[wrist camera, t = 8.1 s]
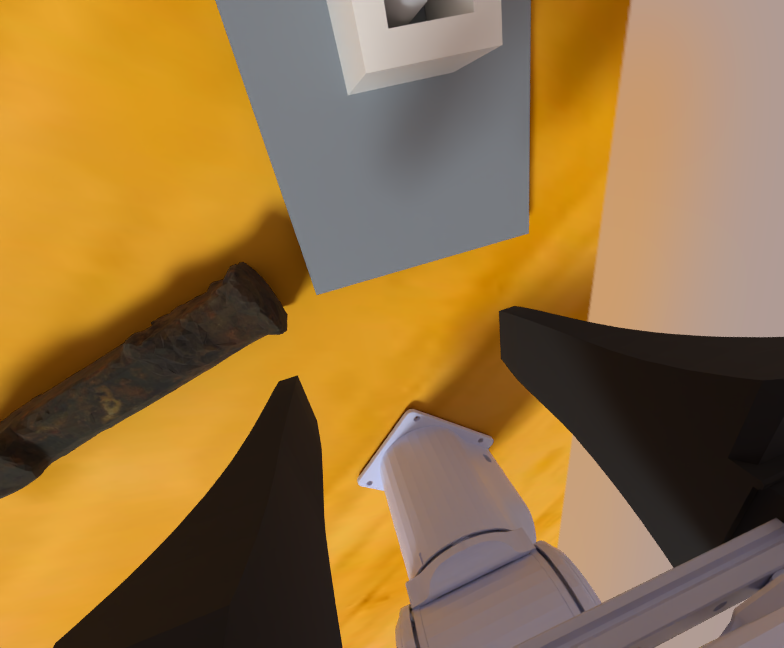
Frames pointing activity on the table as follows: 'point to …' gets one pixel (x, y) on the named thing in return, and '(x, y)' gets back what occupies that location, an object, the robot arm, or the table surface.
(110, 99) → the table surface
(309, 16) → the plate
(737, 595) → the robot arm
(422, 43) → the hollow square block
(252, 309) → the hand tool
